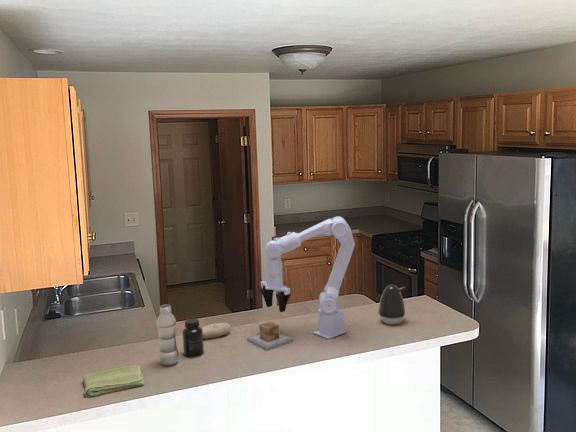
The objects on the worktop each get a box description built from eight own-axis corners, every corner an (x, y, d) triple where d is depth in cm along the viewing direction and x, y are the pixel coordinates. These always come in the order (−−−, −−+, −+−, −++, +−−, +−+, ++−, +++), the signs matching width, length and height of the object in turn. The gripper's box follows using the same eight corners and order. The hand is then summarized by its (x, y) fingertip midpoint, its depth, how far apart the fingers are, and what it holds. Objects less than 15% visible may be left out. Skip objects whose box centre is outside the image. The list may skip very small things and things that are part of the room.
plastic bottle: (162, 369, 177) (158, 311, 174) (157, 361, 183) (152, 305, 179) (181, 364, 180) (177, 307, 176) (175, 357, 186) (172, 301, 182)
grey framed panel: (272, 332, 206) (272, 329, 205) (293, 341, 197) (293, 338, 196) (247, 340, 198) (246, 337, 198) (267, 350, 189) (267, 347, 189)
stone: (235, 328, 204) (208, 327, 196) (228, 341, 205) (202, 341, 198) (227, 319, 208) (201, 318, 200) (221, 332, 210) (195, 332, 202)
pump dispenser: (408, 326, 207) (408, 288, 204) (380, 327, 207) (380, 289, 204) (402, 317, 217) (403, 280, 214) (376, 317, 217) (376, 281, 214)
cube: (270, 334, 200) (270, 321, 200) (279, 338, 197) (278, 325, 196) (259, 338, 197) (259, 325, 196) (268, 342, 194) (267, 328, 193)
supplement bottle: (184, 350, 192) (182, 317, 189) (204, 348, 192) (202, 316, 190) (182, 358, 185) (180, 325, 183) (203, 357, 185) (201, 323, 183)
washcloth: (146, 387, 166) (145, 377, 165) (85, 400, 159) (84, 390, 159) (139, 370, 178) (139, 360, 177) (82, 381, 171) (81, 372, 171)
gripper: (253, 272, 201) (255, 307, 203) (278, 279, 190) (280, 316, 193) (268, 268, 206) (269, 302, 208) (293, 275, 195) (294, 311, 197)
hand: (275, 308), depth 201 cm, fingers open, 7 cm apart
